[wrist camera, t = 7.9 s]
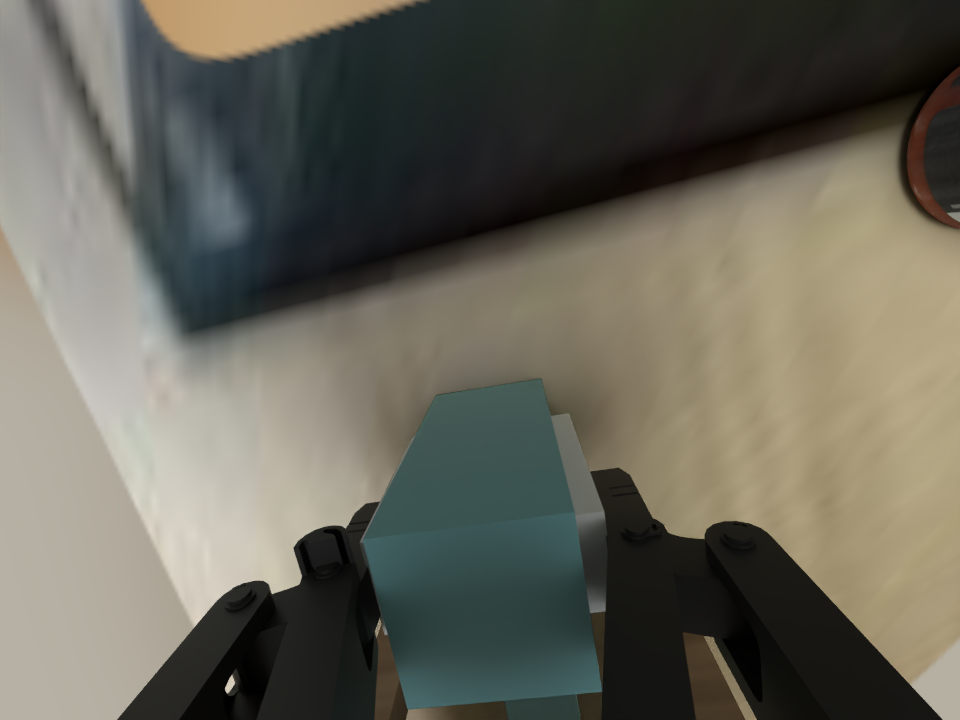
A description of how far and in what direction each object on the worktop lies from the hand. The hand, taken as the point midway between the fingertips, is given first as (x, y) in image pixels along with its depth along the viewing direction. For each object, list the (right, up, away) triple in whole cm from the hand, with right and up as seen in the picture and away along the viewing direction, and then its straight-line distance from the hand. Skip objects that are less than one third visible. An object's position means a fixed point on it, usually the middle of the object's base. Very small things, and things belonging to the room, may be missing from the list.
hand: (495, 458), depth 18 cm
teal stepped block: (+2, -8, +4) cm, 9 cm away
